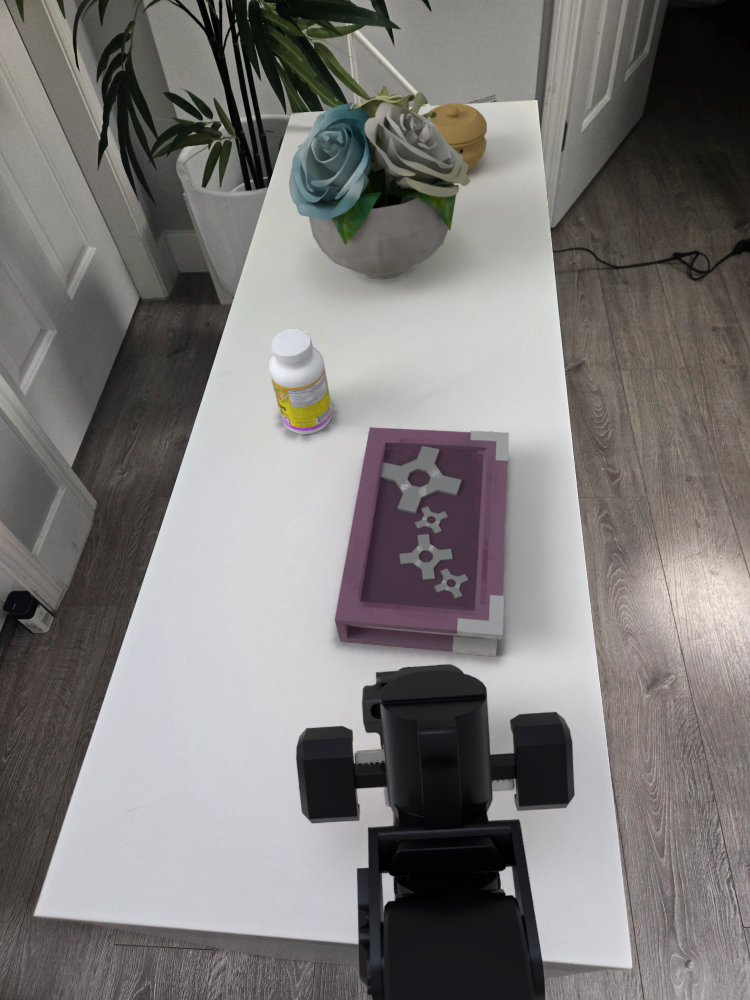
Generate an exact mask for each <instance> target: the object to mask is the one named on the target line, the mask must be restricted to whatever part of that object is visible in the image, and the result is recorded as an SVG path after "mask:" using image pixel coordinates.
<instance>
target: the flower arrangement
mask: <svg viewBox="0 0 750 1000" xmlns="http://www.w3.org/2000/svg"><path fill="white" fill-rule="evenodd" d="M374 92H375V93H377V96H371V97H370V98H369V99H368V100H367V101H365V102H364V101H363V100H362V99H359V101H360V102H361V104H359V105H358V103H357V102H356V103H353V102H348V103H343V104H339V105H336V106H334V107H330V108H329V109H327V110H325V111H323V113H320V114H319V115H317V116H316V118H315V120H314V122H313V125H312V127H311V129H310V131H309V133H308V135H307V137H306V139H305V140H304V141H303V143H301V144H299V145H297V148H298V149H297V150H296V152H295V153H294V155H293V157H292V161H291V169H290V173H289V181H288V186H289V194H290V197H291V199H292V202H293V204H295V206H296V209H297V213H298V214H299V215H300V216H302V217H308V218H309V219H308V220H309V225H310V230H311V233H312V237H313V238H314V240H315V242H316V243H317V245H318V247H319V249H320V250H321V252H322V253H323V254H325V256H327V257H328V259H330V261H332V263H334V264H336V265H339V266H341V267H343V268H346V269H349V270H351V271H353V272H357V273H359V274H361V275H364V276H366V277H369V278H372V279H376V280H387V279H392V278H397V277H399V276H401V275H403V274H404V273H406V271H408V270H409V269H411V268H413V267H415V266H417V265H420V264H422V263H423V262H425V261H426V260H428V259H429V258H430V257H431V256H433V254H435V253H436V251H437V250H438V249H439V248H440V247H441V246H443V245H444V242H445V239H446V236H447V235H448V234H447V233H448V231H451V230H452V229H451V228H452V224H453V217H454V211H455V205H456V199H457V194H458V193H459V190H460V185H461V186H462V187H466V186H468V185H469V184H470V183H471V179H470V178H469V177H468V175H467V173H468V171H469V170H468V167H469V165H468V164H467V163H466V162H464V161H463V157H462V155H460V154H458V153H457V152H456V151H455V150H454V149H453V148H452V147H451V146H450V145H449V144H448V143H447V142H446V140H445V139H444V137H443V136H442V135H441V133H440V132H439V130H438V129H437V128H436V126H435V125H434V124H433V123H432V122H431V118H435V117H436V116H437V114H436V112H429V111H428V112H426V113H424V114H419V112H420V110H421V108H422V106H423V105H428V104H429V101H428V99H427V97H426V95H425V94H424V93H423V92H421V91H418V92H416V93H415V95H414V94H408V95H406V96H403V95H400V94H395V93H394V94H391V95H390V93H389V90H388V88H387V86H386V85H383V87H382V89H381V90H380V91H379V90H375V91H374ZM410 102H413V105H412V107H411V108H410ZM353 104H354V105H353ZM352 105H353V106H352ZM351 106H352V108H351ZM350 108H351V109H350ZM459 184H460V185H459Z"/></svg>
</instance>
